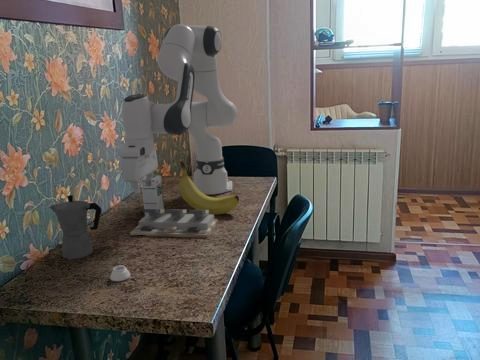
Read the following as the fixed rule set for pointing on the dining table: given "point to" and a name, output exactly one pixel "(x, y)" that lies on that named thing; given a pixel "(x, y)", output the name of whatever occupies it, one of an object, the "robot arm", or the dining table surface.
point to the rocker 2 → (175, 212)
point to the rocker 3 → (199, 213)
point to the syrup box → (153, 193)
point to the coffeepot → (76, 227)
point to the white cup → (119, 273)
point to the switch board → (174, 231)
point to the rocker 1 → (154, 212)
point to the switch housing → (177, 221)
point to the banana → (204, 196)
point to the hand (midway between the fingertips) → (143, 189)
